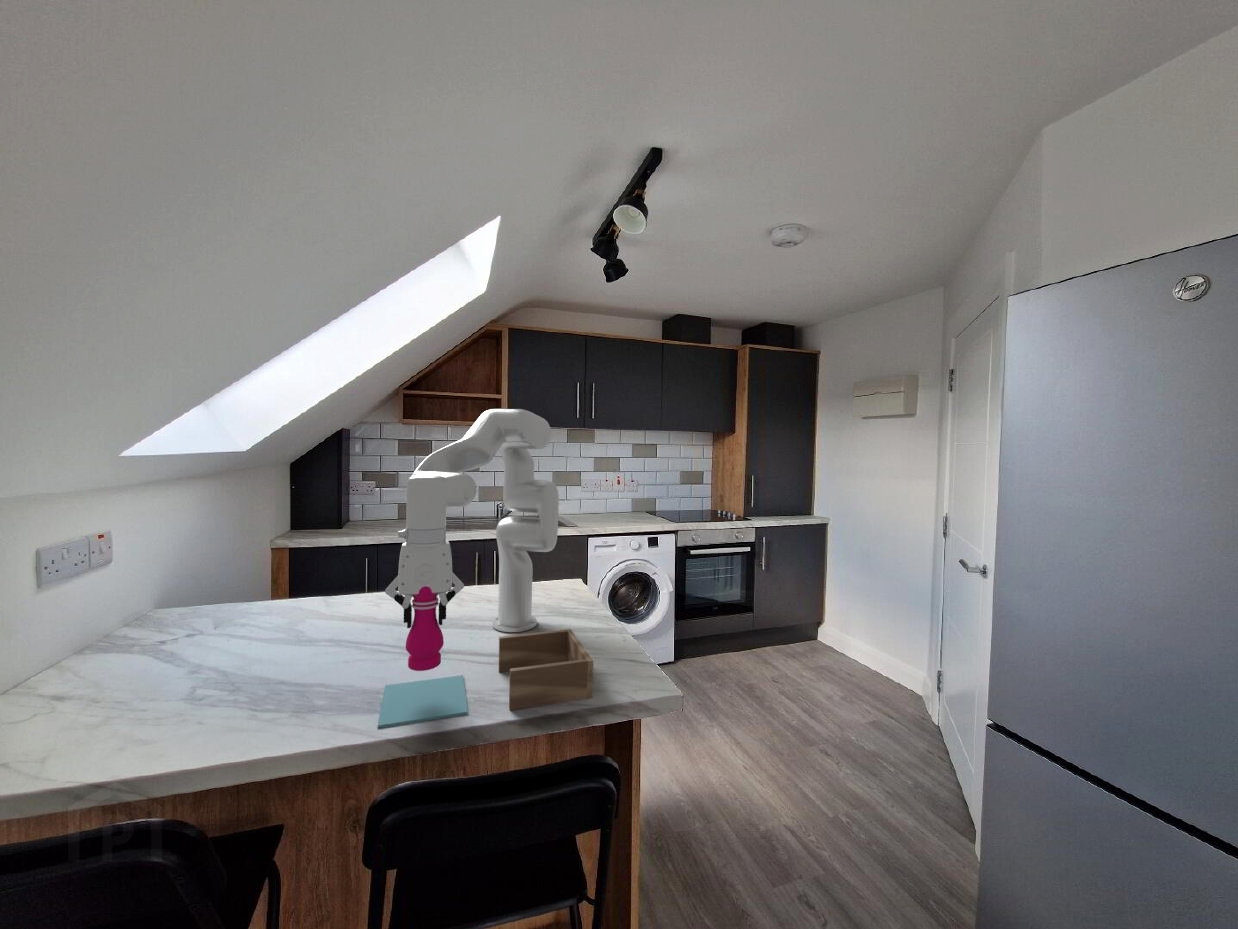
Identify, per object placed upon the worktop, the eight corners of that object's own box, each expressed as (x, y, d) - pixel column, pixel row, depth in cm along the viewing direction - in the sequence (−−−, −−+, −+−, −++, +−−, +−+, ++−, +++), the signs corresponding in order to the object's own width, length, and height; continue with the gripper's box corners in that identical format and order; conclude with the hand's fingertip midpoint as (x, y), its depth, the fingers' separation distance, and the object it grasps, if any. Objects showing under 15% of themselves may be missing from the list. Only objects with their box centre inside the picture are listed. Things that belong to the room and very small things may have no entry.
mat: (385, 687, 108) (385, 685, 108) (463, 677, 114) (463, 675, 114) (377, 728, 93) (377, 725, 93) (467, 714, 99) (467, 711, 99)
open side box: (498, 670, 117) (499, 636, 117) (570, 661, 123) (570, 629, 123) (509, 710, 100) (510, 671, 100) (592, 697, 106) (593, 660, 106)
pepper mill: (450, 660, 105) (452, 565, 104) (426, 675, 98) (428, 573, 97) (422, 654, 107) (423, 561, 106) (397, 668, 101) (398, 569, 100)
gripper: (377, 541, 95) (376, 635, 96) (471, 537, 101) (470, 626, 102) (381, 534, 102) (380, 622, 103) (469, 531, 108) (467, 614, 109)
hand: (425, 623), depth 102 cm, fingers closed on pepper mill, 5 cm apart
